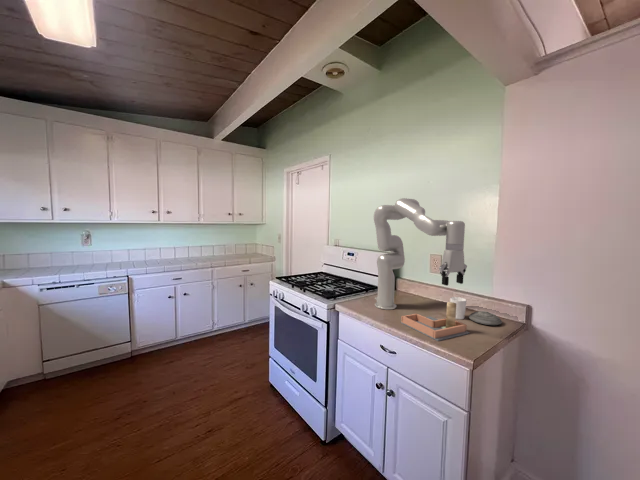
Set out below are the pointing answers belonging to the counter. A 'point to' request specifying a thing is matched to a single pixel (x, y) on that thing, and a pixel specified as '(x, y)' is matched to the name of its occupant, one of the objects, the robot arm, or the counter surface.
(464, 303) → the white cup
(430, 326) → the track
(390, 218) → the robot arm
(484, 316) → the flying saucer
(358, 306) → the counter surface
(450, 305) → the peg
